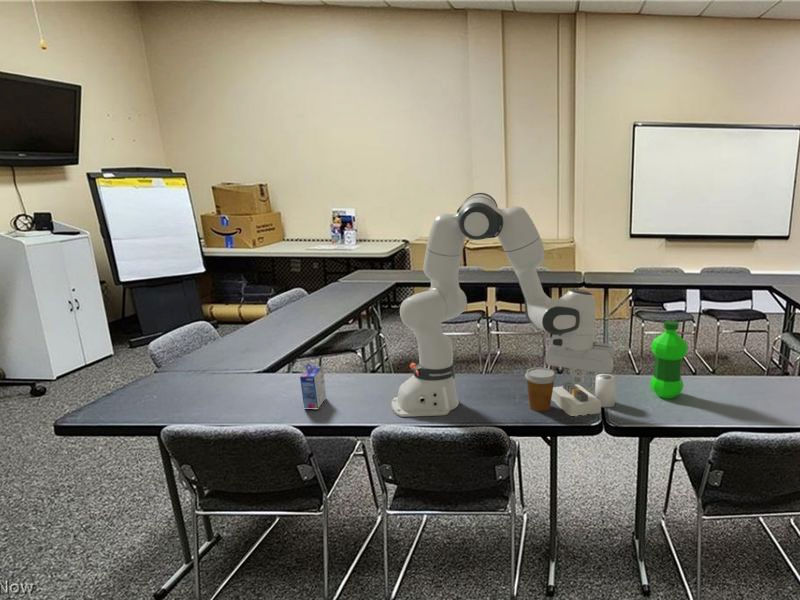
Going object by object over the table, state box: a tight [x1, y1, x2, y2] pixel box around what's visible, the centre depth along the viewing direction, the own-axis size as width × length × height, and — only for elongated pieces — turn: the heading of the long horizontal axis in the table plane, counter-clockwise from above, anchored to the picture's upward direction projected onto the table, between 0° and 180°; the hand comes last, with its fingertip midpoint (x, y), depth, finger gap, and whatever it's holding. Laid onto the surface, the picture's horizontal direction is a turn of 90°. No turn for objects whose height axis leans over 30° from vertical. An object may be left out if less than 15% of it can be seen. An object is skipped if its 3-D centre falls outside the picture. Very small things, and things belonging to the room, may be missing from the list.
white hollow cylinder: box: [594, 373, 617, 408], centre depth 166 cm, size 6×6×9 cm
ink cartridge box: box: [299, 362, 327, 409], centre depth 176 cm, size 10×6×14 cm, turn 172°
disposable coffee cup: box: [524, 367, 557, 412], centre depth 165 cm, size 10×10×12 cm
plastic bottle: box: [649, 320, 689, 400], centre depth 168 cm, size 10×10×25 cm
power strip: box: [551, 380, 602, 417], centre depth 170 cm, size 10×22×6 cm, turn 10°
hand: (578, 381), depth 165 cm, fingers closed
